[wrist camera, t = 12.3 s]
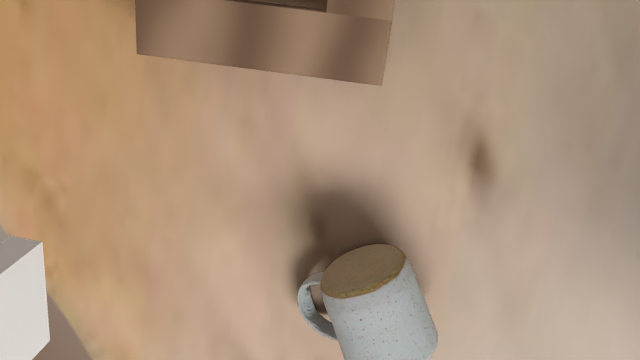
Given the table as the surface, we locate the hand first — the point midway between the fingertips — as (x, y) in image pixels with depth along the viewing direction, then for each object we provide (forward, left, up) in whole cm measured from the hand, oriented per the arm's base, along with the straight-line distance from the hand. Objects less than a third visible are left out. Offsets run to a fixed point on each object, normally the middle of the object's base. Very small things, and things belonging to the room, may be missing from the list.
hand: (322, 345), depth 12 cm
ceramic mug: (-2, +18, -30) cm, 35 cm away
